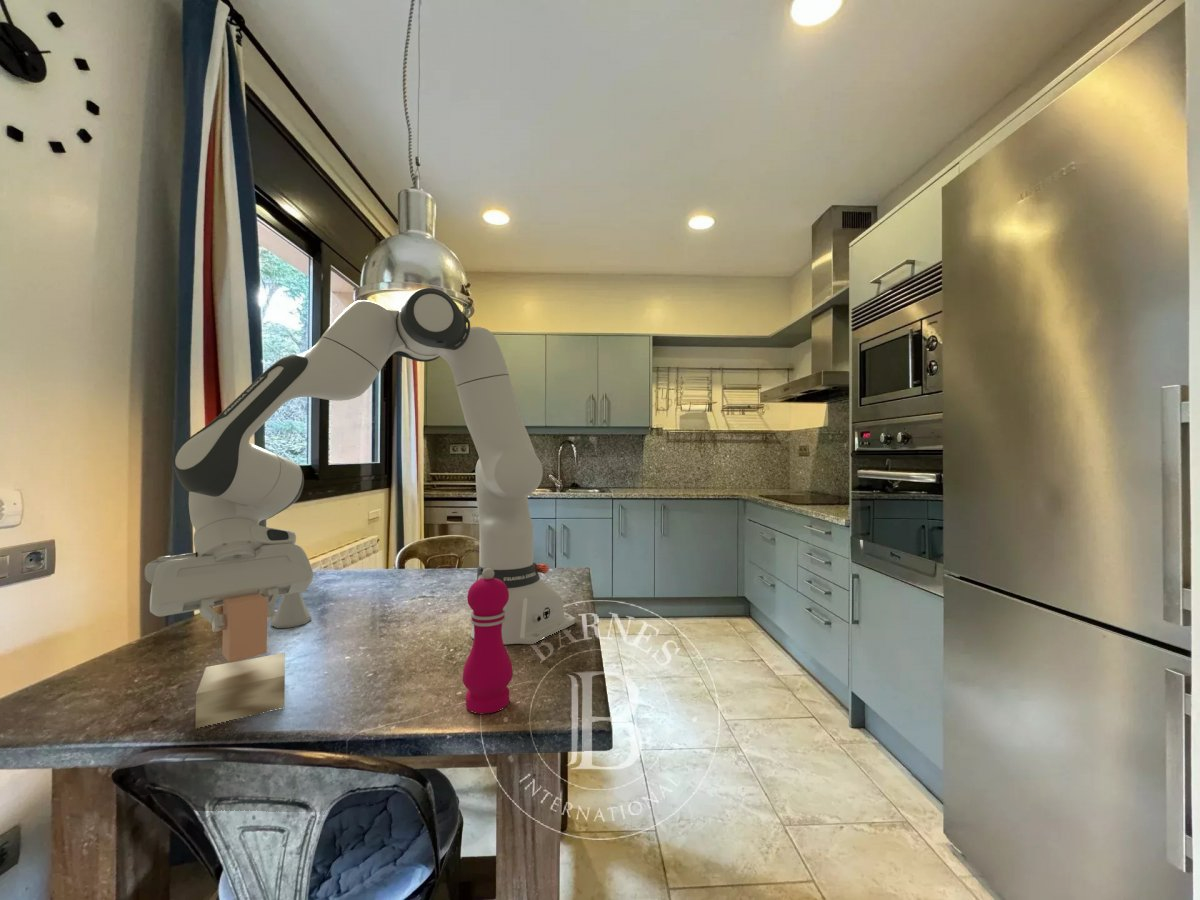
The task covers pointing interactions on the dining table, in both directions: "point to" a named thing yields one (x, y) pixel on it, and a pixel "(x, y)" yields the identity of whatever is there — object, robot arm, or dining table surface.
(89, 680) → the dining table surface
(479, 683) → the pepper mill
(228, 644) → the terracotta block
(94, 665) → the dining table surface
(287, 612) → the flask
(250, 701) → the birch block
